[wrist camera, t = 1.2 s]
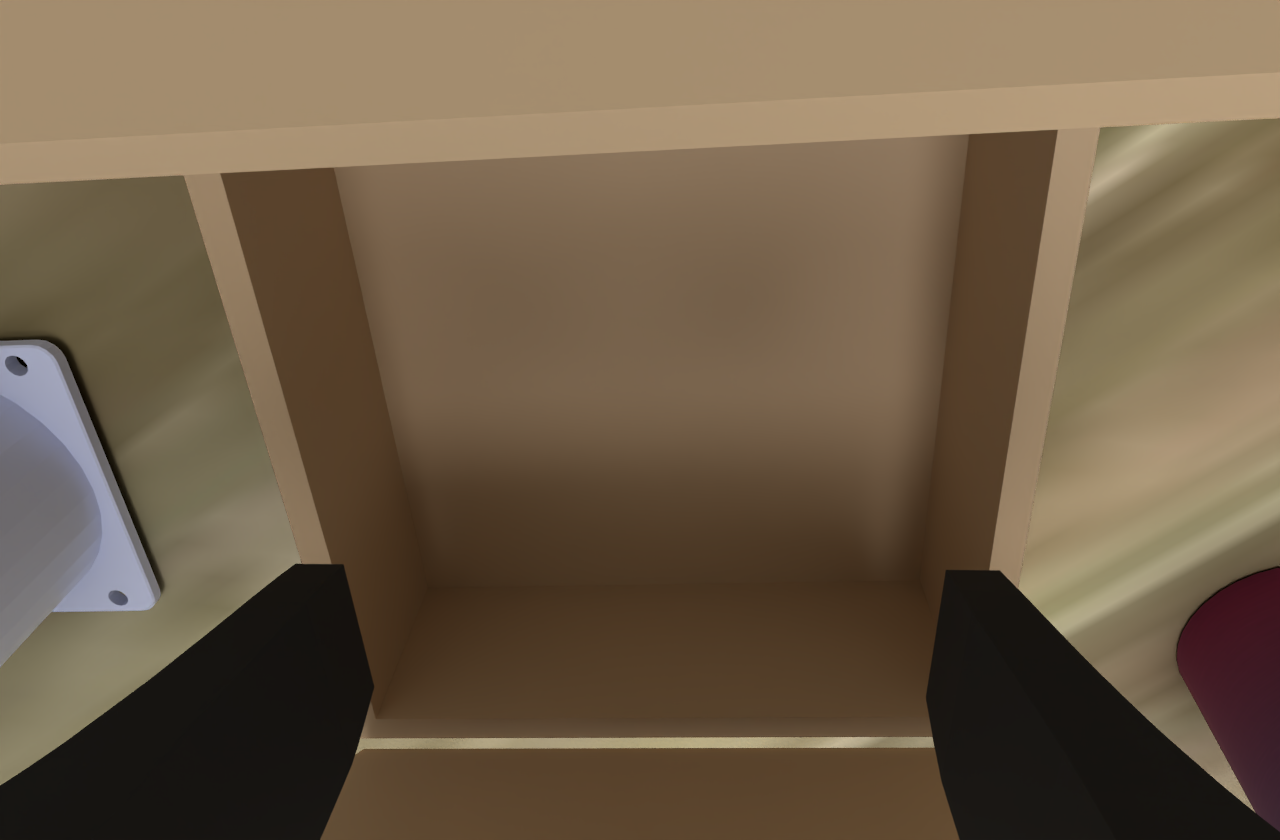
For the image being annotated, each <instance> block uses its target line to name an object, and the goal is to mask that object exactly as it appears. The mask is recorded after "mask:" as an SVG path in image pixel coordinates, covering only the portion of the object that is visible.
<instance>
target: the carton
mask: <svg viewBox="0 0 1280 840" xmlns="http://www.w3.org/2000/svg"><path fill="white" fill-rule="evenodd" d="M1099 132H1100V127H1097V128H1078V129H1058V130H1039V131H1020V132H1001V133H982V134H962V135H943V136H924V137H905V138H886V139H867V140H847V141H828V142H809V143H790V144H771V145H751V146H732V147H713V148H694V149H675V150H656V151H636V152H617V153H598V154H579V155H560V156H540V157H521V158H502V159H483V160H464V161H444V162H425V163H406V164H387V165H368V166H349V167H329V168H310V169H291V170H272V171H253V172H233V173H214V174H195V175H184V178H185V181H186V184H187V188H188V191H189V194H190V198H191V201H192V204H193V207H194V211H195V214H196V217H197V221H198V224H199V227H200V230H201V234H202V237H203V240H204V243H205V247H206V250H207V253H208V257H209V260H210V263H211V266H212V270H213V273H214V276H215V280H216V283H217V286H218V289H219V293H220V296H221V299H222V303H223V306H224V309H225V312H226V316H227V319H228V322H229V325H230V329H231V332H232V335H233V339H234V342H235V345H236V348H237V352H238V355H239V358H240V362H241V365H242V368H243V371H244V375H245V378H246V381H247V385H248V388H249V391H250V394H251V398H252V401H253V404H254V408H255V411H256V414H257V417H258V421H259V424H260V427H261V430H262V434H263V437H264V440H265V444H266V447H267V450H268V453H269V457H270V460H271V463H272V467H273V470H274V473H275V476H276V480H277V483H278V486H279V490H280V493H281V496H282V499H283V503H284V506H285V509H286V512H287V516H288V519H289V522H290V526H291V529H292V532H293V535H294V539H295V542H296V545H297V549H298V552H299V555H300V558H301V562H302V564H344V568H345V572H346V576H347V580H348V584H349V588H350V592H351V596H352V600H353V604H354V608H355V612H356V616H357V620H358V624H359V627H360V631H361V635H362V639H363V643H364V647H365V651H366V655H367V659H368V663H369V667H370V671H371V675H372V679H373V683H374V690H373V694H372V698H371V701H370V705H369V709H368V712H367V716H366V720H365V723H364V727H363V730H362V734H361V737H360V738H637V737H933V736H932V730H931V725H930V719H929V713H928V708H927V702H926V693H927V686H928V680H929V674H930V667H931V661H932V655H933V648H934V642H935V636H936V629H937V623H938V616H939V610H940V604H941V597H942V591H943V585H944V578H945V572H946V570H1000V571H1001V572H1002V573H1003V574H1004V575H1005V576H1006V577H1007V578H1008V579H1009V580H1010V581H1011V582H1012V583H1013V584H1014V585H1015V586H1016V587H1017V589H1018V587H1019V582H1020V576H1021V570H1022V565H1023V559H1024V554H1025V548H1026V542H1027V537H1028V531H1029V525H1030V520H1031V514H1032V509H1033V503H1034V497H1035V492H1036V486H1037V480H1038V475H1039V469H1040V464H1041V458H1042V452H1043V447H1044V441H1045V435H1046V430H1047V424H1048V419H1049V413H1050V407H1051V402H1052V396H1053V391H1054V385H1055V379H1056V374H1057V368H1058V362H1059V357H1060V351H1061V346H1062V340H1063V334H1064V329H1065V323H1066V317H1067V312H1068V306H1069V301H1070V295H1071V289H1072V284H1073V278H1074V272H1075V267H1076V261H1077V256H1078V250H1079V244H1080V239H1081V233H1082V228H1083V222H1084V216H1085V211H1086V205H1087V199H1088V194H1089V188H1090V183H1091V177H1092V171H1093V166H1094V160H1095V154H1096V149H1097V143H1098V138H1099Z"/></svg>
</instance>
